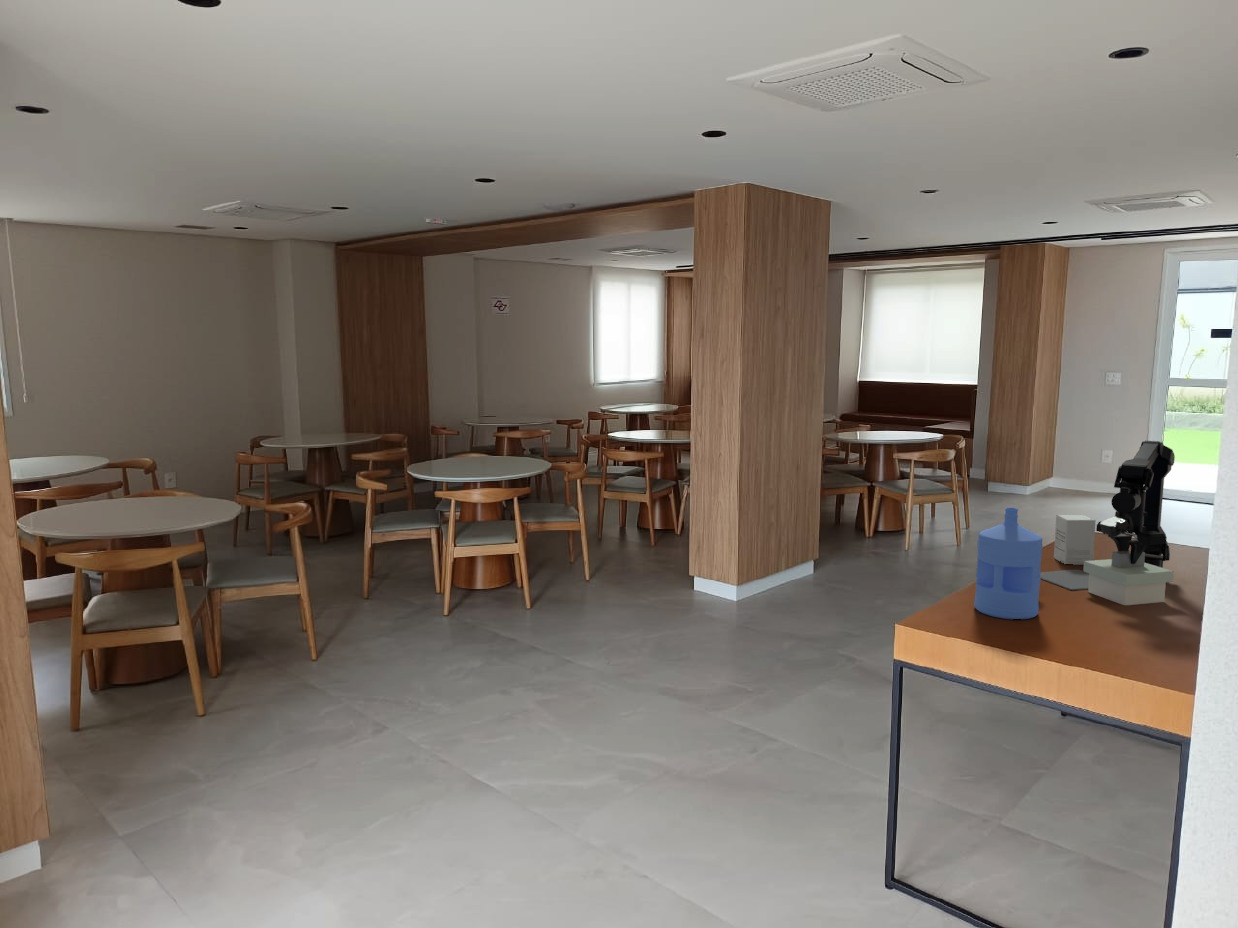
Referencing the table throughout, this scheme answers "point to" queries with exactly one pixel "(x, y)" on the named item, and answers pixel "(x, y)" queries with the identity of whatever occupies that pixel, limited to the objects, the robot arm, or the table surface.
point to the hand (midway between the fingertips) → (1128, 562)
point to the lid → (1128, 570)
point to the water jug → (1008, 570)
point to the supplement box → (1074, 539)
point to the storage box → (1126, 591)
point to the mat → (1067, 579)
